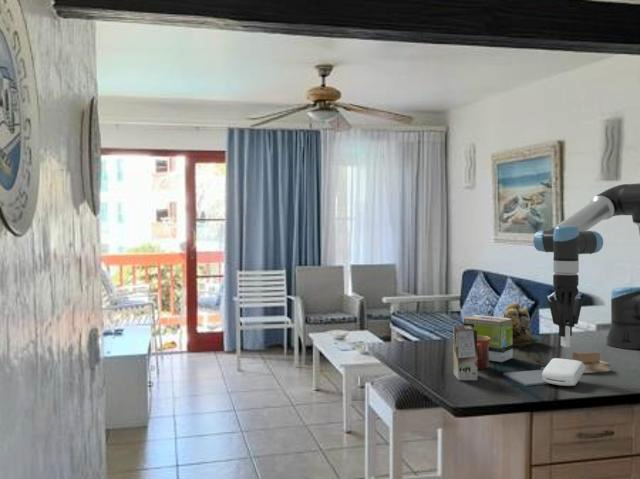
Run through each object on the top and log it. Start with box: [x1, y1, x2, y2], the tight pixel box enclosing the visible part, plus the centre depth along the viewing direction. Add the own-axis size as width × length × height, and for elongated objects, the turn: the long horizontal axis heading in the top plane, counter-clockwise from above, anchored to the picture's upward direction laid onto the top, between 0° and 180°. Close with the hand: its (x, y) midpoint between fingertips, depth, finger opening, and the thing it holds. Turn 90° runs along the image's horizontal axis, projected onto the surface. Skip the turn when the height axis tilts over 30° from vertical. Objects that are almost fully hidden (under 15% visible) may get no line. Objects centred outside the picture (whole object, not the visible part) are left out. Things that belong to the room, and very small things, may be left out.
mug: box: [477, 335, 491, 370], centre depth 198 cm, size 12×9×10 cm
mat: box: [503, 366, 551, 387], centre depth 185 cm, size 15×13×1 cm
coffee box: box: [452, 324, 478, 381], centre depth 188 cm, size 9×6×16 cm
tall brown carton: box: [571, 350, 601, 364], centre depth 193 cm, size 14×4×4 cm, turn 99°
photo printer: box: [542, 357, 585, 387], centre depth 179 cm, size 10×4×12 cm
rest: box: [583, 359, 611, 374], centre depth 194 cm, size 12×6×2 cm, turn 103°
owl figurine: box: [502, 302, 536, 349], centre depth 233 cm, size 18×12×17 cm, turn 137°
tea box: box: [463, 314, 514, 363], centre depth 213 cm, size 15×10×15 cm, turn 47°
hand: (565, 346), depth 187 cm, fingers closed
